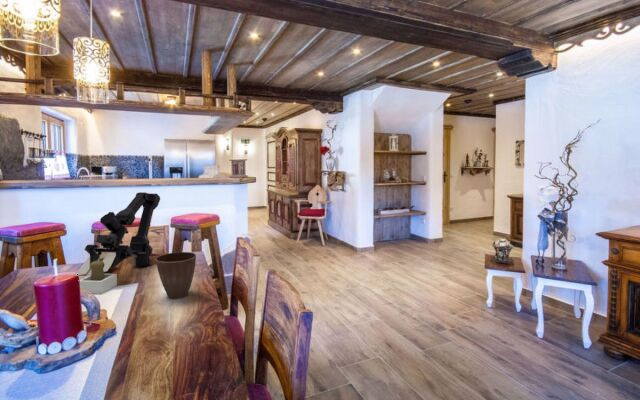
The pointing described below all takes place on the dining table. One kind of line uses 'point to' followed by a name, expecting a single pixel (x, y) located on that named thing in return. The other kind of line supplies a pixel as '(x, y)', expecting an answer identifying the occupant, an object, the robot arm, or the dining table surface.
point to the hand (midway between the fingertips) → (101, 268)
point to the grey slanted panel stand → (105, 258)
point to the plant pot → (176, 273)
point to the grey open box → (99, 284)
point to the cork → (97, 271)
